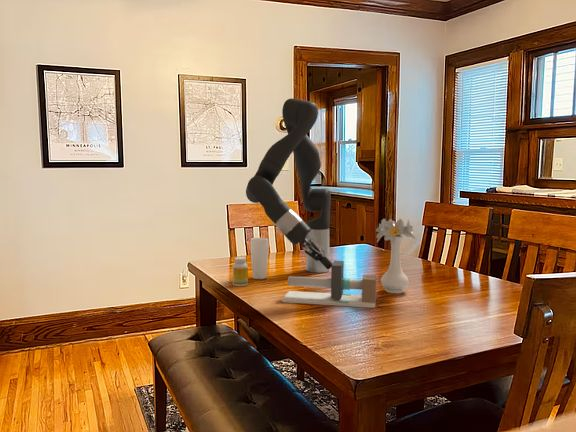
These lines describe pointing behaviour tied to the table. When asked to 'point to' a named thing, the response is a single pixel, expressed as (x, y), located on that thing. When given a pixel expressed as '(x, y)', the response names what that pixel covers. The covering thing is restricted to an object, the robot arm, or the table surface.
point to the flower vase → (394, 254)
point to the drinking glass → (259, 257)
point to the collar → (336, 279)
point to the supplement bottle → (240, 272)
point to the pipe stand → (325, 298)
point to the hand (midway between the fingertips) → (330, 267)
